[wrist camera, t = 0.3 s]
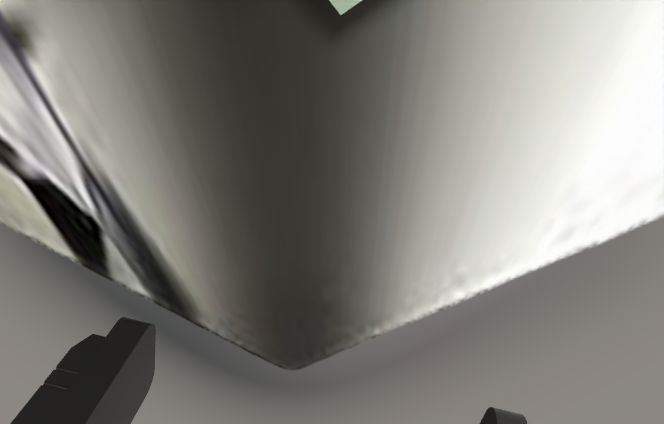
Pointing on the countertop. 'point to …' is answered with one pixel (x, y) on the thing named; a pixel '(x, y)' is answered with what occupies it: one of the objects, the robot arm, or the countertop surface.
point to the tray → (344, 5)
